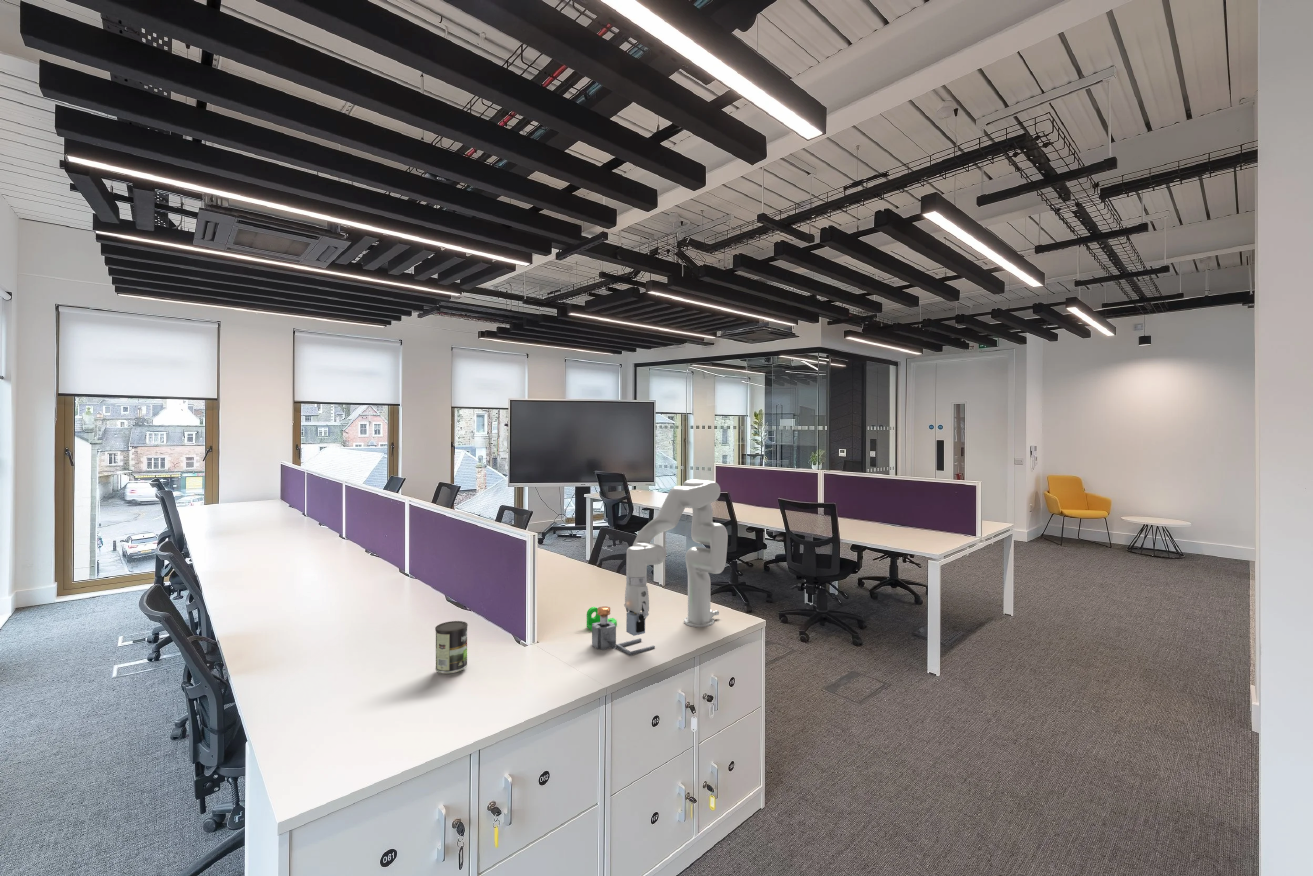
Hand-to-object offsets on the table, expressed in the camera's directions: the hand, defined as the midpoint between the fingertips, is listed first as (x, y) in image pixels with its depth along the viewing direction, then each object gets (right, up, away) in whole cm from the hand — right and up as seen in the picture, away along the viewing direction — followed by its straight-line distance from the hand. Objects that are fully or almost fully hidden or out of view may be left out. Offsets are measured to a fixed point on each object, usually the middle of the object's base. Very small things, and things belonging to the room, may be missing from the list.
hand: (635, 629), depth 199 cm
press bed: (0, -8, 0) cm, 8 cm away
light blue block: (0, -1, 0) cm, 1 cm away
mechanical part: (-15, -8, +24) cm, 30 cm away
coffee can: (-62, -8, -16) cm, 65 cm away
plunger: (-12, -2, +4) cm, 13 cm away
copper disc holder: (-12, -8, +4) cm, 15 cm away
